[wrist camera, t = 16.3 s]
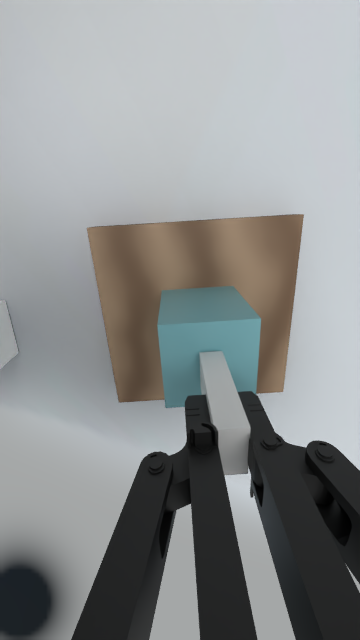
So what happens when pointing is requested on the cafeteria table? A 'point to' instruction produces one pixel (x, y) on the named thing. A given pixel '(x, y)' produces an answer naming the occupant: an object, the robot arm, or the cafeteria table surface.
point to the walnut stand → (193, 272)
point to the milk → (6, 336)
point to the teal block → (206, 338)
